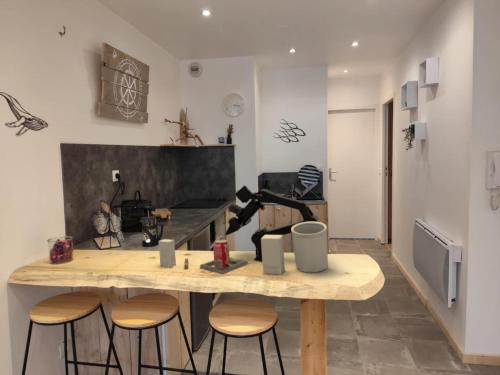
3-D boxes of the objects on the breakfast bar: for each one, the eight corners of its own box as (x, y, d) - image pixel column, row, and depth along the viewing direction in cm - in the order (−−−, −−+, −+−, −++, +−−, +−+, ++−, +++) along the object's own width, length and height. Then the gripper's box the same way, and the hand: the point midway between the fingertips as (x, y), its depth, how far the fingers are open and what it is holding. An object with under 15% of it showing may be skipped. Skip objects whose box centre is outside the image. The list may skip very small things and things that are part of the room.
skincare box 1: (176, 265, 169) (174, 239, 168) (170, 267, 165) (169, 241, 164) (165, 263, 172) (164, 238, 170) (159, 266, 168) (158, 241, 167)
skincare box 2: (285, 270, 155) (284, 234, 154) (281, 275, 149) (280, 238, 148) (266, 269, 158) (265, 234, 157) (261, 274, 152) (260, 237, 150)
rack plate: (247, 264, 166) (247, 260, 166) (222, 274, 154) (222, 270, 154) (225, 259, 175) (225, 255, 175) (200, 268, 163) (200, 264, 163)
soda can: (228, 264, 167) (227, 238, 166) (231, 268, 160) (229, 242, 159) (213, 265, 166) (212, 239, 165) (215, 270, 159) (213, 243, 158)
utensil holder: (288, 262, 161) (284, 226, 157) (316, 254, 167) (314, 218, 162) (305, 277, 148) (302, 237, 144) (335, 267, 153) (334, 228, 149)
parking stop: (185, 262, 172) (184, 258, 172) (188, 262, 172) (188, 258, 172) (184, 269, 162) (184, 264, 162) (187, 269, 162) (187, 264, 162)
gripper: (244, 195, 182) (224, 217, 186) (231, 200, 164) (210, 224, 168) (260, 211, 180) (240, 232, 184) (248, 218, 162) (226, 241, 167)
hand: (229, 232), depth 176 cm, fingers open, 9 cm apart
